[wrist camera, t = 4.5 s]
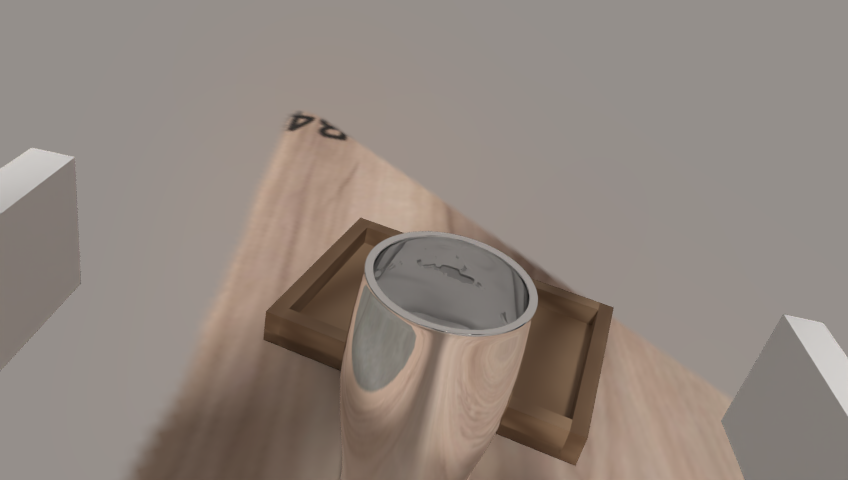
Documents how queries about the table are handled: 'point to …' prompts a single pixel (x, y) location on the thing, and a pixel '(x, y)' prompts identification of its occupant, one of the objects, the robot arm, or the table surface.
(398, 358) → the silver metal cup
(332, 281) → the walnut tray
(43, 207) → the robot arm
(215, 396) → the table surface
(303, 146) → the table surface
